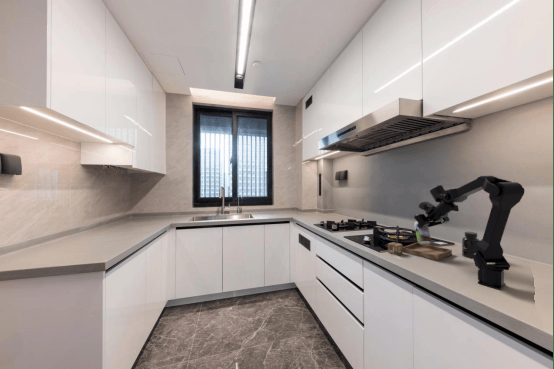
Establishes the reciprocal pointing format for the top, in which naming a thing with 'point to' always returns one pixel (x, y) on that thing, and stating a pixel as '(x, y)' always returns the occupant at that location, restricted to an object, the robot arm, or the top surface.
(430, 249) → the tray
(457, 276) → the top surface
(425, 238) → the beverage can
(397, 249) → the letter block
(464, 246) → the supplement bottle
